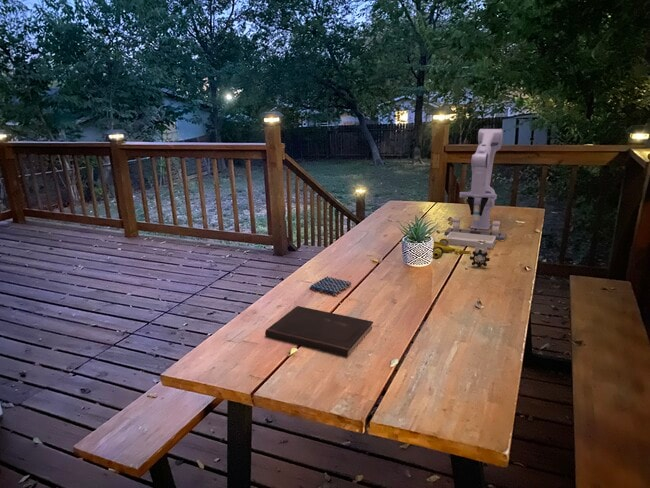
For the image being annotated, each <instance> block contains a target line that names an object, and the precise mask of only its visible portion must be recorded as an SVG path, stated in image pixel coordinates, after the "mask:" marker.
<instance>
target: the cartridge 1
mask: <svg viewBox="0 0 650 488" xmlns="http://www.w3.org/2000/svg"><path fill="white" fill-rule="evenodd" d="M460 225H461V218H460V217H452V228H453V230H452V232H459V229H460Z"/></svg>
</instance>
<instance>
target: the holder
mask: <svg viewBox="0 0 650 488" xmlns="http://www.w3.org/2000/svg"><path fill="white" fill-rule="evenodd" d="M452 230H453V227H447V229H446V230H445V231H444V236H447V235H448V234H449V233H450V232H452ZM458 233H468V234H478V235H488V236H491V234H492V231H489V230H486V231H485V230H479V229H478V230H477V229H476V230H475V229H466V228H459V232H458ZM505 237H507V233H505V232H499V236H496V240H504V239H505V240H506V238H505ZM505 240H504V241H505Z"/></svg>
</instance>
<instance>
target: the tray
mask: <svg viewBox="0 0 650 488" xmlns="http://www.w3.org/2000/svg"><path fill="white" fill-rule="evenodd" d="M444 239H447V240H448V241H449V244H451V245H450V246H457V245H461V246H460V247H466V246H471V247H470V248H475V247H476V246H477V241H479V240H482V241H486V242H487V245H486V247H487V248H490V249H489V250H493V249H494V246H495V244H496V242H497V241H496V236H488V235H478V234H468V233H458V232H450V233H449V234H448V236H447V235H446V237H445V238H444Z"/></svg>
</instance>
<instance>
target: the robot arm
mask: <svg viewBox="0 0 650 488" xmlns="http://www.w3.org/2000/svg"><path fill="white" fill-rule="evenodd" d="M503 136H504V130H503V129H502V128H480V129H478V134H477V143H478V145H477V148H476V151H475V152H474V154H472V155H471V159H470V160H471V162H470V163H471V185H470V187H471V188H470V191H460V192H459V198H466V202H467V204H468V207H469V210H470V216H473V204H481V208H480V221H479V222H475V221H472V223H471V224H470V227H469V228H470V229H474V230H475V229H476V230H477V229H478V230H486V231H489V229H490V228H491V227H492V223H490V217H491V209H492V208H493V207H495V201H496V200H497V197H498V194H497V193H496V192H495V189H494V188H493V187H491V186H490V185H491V182H492V181H491V179H492V173H493V166H494V160H495V155H496V153H497V152H498V151H500V150H501V148H502V141H503Z"/></svg>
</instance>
